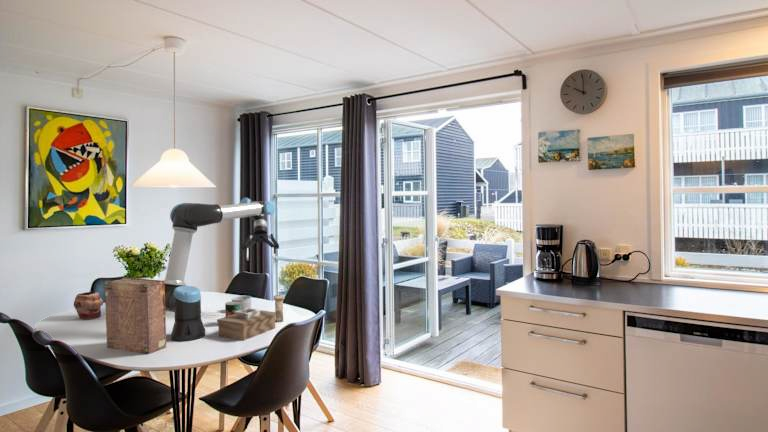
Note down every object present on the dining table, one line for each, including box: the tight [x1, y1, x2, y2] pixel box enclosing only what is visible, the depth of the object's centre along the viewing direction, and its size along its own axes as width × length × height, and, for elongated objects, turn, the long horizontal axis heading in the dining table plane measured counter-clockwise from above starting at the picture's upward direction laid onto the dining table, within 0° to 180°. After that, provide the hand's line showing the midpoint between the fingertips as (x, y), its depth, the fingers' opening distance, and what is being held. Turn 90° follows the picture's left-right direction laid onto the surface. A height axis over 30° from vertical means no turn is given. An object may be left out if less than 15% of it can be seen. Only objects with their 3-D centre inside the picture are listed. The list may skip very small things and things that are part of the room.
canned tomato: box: [224, 300, 241, 317], centre depth 244 cm, size 8×8×11 cm
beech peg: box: [272, 294, 285, 323], centre depth 248 cm, size 6×6×14 cm
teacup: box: [231, 295, 252, 310], centre depth 272 cm, size 14×11×8 cm
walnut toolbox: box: [216, 308, 276, 341], centre depth 229 cm, size 23×17×10 cm
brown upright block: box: [104, 277, 167, 355], centre depth 206 cm, size 25×9×30 cm, turn 69°
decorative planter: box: [73, 291, 104, 320], centre depth 257 cm, size 20×12×14 cm, turn 72°
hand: (260, 258), depth 255 cm, fingers open, 13 cm apart
